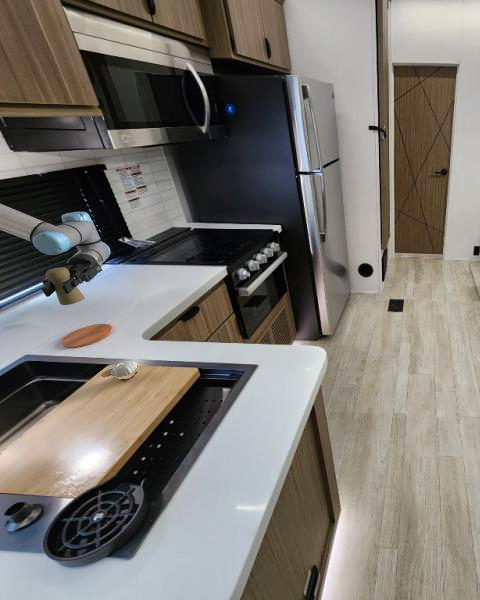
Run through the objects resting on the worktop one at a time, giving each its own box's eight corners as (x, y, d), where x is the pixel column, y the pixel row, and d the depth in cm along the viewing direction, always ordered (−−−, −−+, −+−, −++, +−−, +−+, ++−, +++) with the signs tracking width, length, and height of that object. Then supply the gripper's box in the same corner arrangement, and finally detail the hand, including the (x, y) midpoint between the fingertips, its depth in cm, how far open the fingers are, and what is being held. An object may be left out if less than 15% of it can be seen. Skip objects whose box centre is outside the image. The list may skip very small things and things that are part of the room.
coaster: (50, 347, 104) (49, 346, 104) (85, 325, 115) (84, 323, 115) (90, 347, 104) (90, 346, 103) (122, 325, 115) (121, 323, 115)
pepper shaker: (77, 303, 104) (60, 272, 99) (55, 306, 103) (36, 274, 98) (88, 295, 109) (72, 264, 104) (67, 297, 108) (50, 266, 103)
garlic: (119, 387, 88) (111, 372, 86) (112, 379, 91) (104, 364, 89) (145, 374, 92) (137, 360, 90) (137, 367, 95) (130, 353, 93)
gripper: (118, 269, 122) (96, 296, 103) (59, 277, 116) (25, 307, 98) (109, 249, 119) (85, 274, 100) (48, 257, 113) (10, 285, 94)
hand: (55, 291), depth 99 cm, fingers closed on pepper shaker, 4 cm apart
